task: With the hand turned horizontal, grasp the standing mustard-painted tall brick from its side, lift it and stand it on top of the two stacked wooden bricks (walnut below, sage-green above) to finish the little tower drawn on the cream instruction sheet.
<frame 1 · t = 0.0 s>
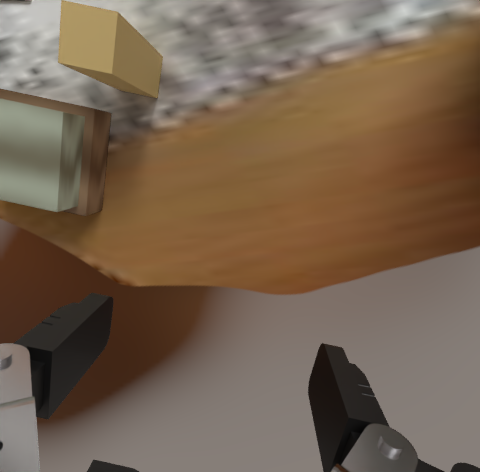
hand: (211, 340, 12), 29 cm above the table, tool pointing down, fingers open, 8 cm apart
tower base: (59, 153, 40), on the table
tall brick: (141, 73, 37), on the table
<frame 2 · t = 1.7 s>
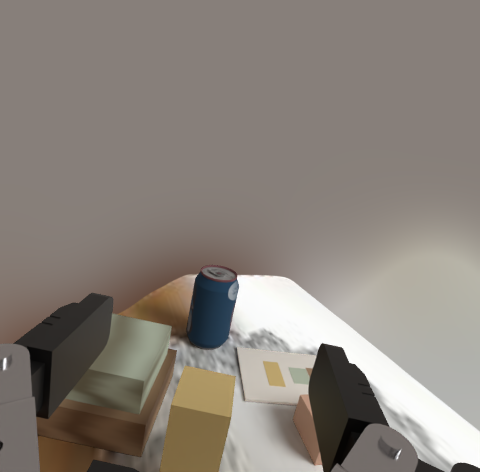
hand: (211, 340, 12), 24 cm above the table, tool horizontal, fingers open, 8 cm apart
instruction sheet: (292, 377, 48), on the table
tower base: (108, 399, 38), on the table
soda can: (205, 340, 53), on the table
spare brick: (324, 440, 39), on the table
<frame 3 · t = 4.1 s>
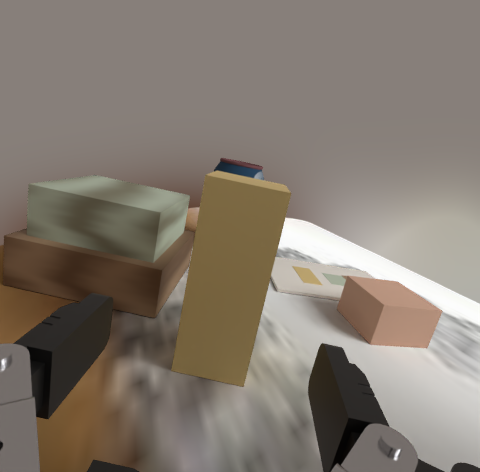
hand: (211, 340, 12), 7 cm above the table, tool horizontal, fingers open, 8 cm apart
instruction sheet: (328, 281, 41), on the table
tower base: (113, 273, 31), on the table
soda can: (224, 248, 46), on the table
tall brick: (212, 356, 22), on the table
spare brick: (378, 329, 31), on the table
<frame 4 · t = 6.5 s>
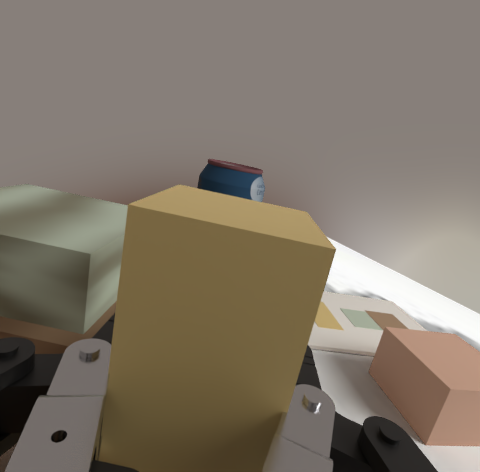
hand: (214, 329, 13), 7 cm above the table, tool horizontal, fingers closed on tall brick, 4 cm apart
instruction sheet: (348, 320, 31), on the table
tower base: (44, 329, 21), on the table
soda can: (214, 273, 36), on the table
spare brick: (431, 407, 22), on the table
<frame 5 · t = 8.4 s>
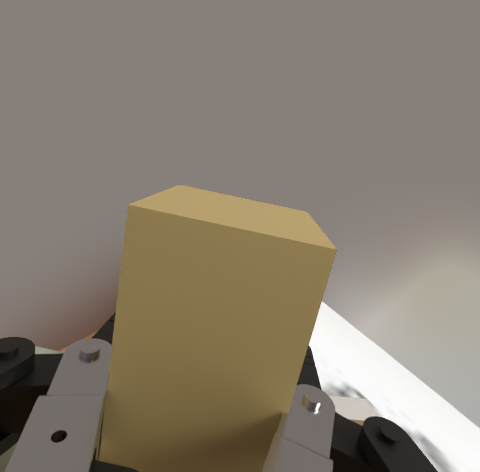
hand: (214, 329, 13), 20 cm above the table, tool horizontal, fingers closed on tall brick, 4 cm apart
instruction sheet: (321, 434, 34), on the table
when the fingers open (15 cm above the table, at t = 10.6 s): tall brick stays where it is, resting on tower base.
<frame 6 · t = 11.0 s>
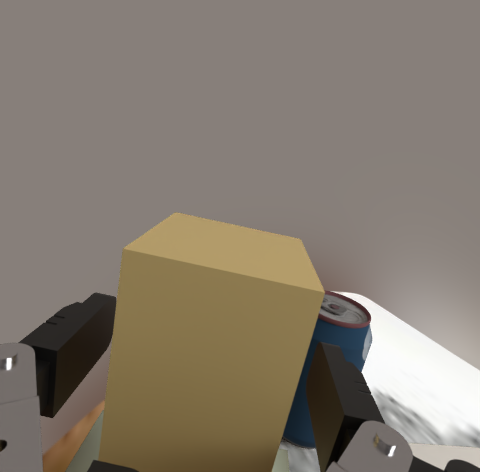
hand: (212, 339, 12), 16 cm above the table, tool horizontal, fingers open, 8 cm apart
soda can: (298, 423, 30), on the table
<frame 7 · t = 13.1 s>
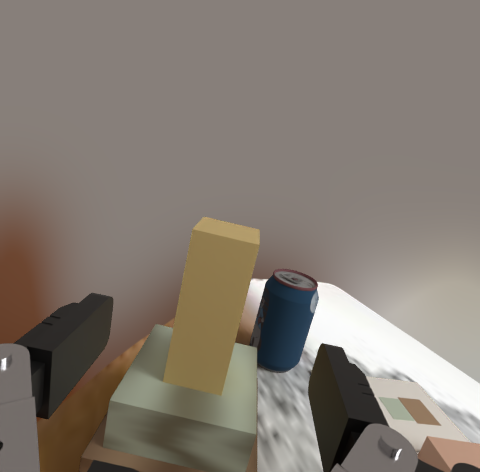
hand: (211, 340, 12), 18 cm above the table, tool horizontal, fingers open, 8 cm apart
instruction sheet: (387, 410, 39), on the table
tower base: (179, 446, 28), on the table
soda can: (271, 359, 44), on the table
tall brick: (197, 369, 26), point 8 cm above the table, touching tower base
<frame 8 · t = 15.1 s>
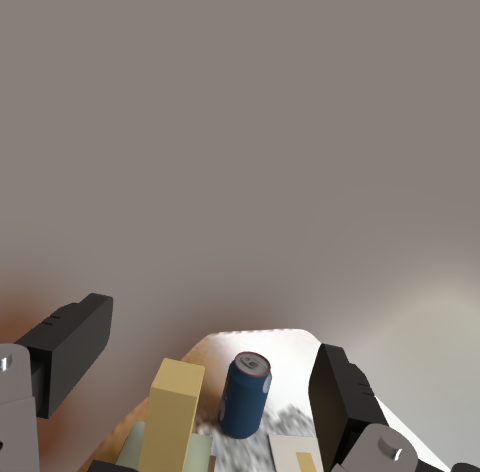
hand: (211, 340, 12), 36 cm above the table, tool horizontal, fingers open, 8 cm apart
instruction sheet: (326, 471, 48), on the table
soda can: (237, 425, 53), on the table
tall brick: (163, 466, 36), point 8 cm above the table, touching tower base
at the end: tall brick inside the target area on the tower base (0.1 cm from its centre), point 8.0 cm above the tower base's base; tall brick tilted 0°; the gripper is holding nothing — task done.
